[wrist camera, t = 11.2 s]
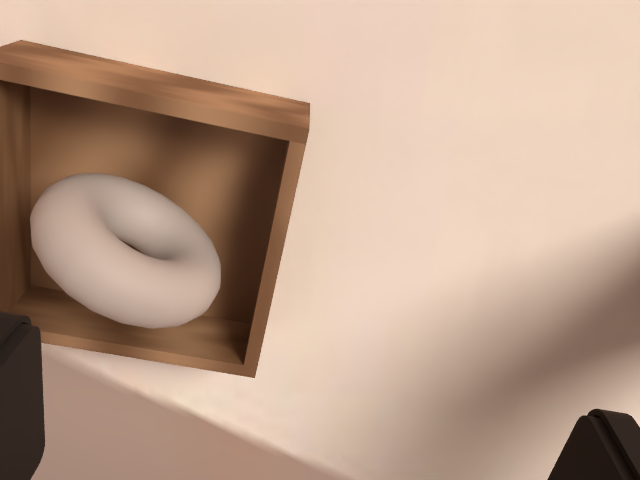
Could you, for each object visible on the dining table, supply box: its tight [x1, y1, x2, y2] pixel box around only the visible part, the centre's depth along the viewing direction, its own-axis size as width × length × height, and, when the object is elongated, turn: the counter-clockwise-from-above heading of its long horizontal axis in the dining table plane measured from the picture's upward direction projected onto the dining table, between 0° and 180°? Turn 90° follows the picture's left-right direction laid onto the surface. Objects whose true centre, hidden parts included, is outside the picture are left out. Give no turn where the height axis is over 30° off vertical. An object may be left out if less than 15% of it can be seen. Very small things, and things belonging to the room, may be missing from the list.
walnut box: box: [0, 40, 310, 378], centre depth 33 cm, size 16×16×5 cm
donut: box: [30, 173, 221, 329], centre depth 30 cm, size 10×4×10 cm, turn 54°
